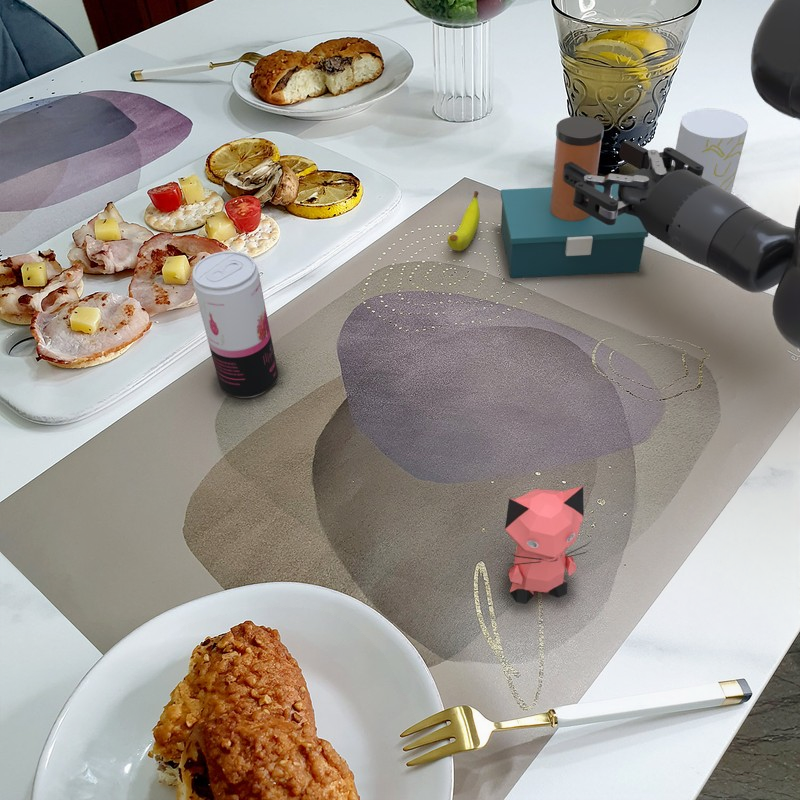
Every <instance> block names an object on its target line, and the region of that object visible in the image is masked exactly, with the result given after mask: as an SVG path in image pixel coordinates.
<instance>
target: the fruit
mask: <svg viewBox="0 0 800 800" xmlns="http://www.w3.org/2000/svg"><path fill="white" fill-rule="evenodd" d="M478 195H479V191H478V190H475V191H474V193H473V198H472V199H471V201H470V203H469V205H468V207H467V208H466V209H465V212H464V214H463V217H462V219H461V222H460V225H459V227H458V228H457V230H456V231H455V232H454V233H452V234H449V235H448V236H447V238H446V239H447V240H446V242H447V244H448V247H449V248H450V249H452V250H453V251H459V252H461V251H463V250H466V249H467V248H468V246H470V244H471V242H472V240H473V239H474V237H475V235H476V233H477V229H478V227H479V223H480V217H481V211H480V205H479V202H478Z"/></svg>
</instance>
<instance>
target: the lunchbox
mask: <svg viewBox="0 0 800 800" xmlns="http://www.w3.org/2000/svg"><path fill="white" fill-rule="evenodd" d="M618 187H619V184H613V186H612V193H611V195H613V196H614V198H618ZM595 189H597V190H598V191H600V192H604V187H603V186H600V185H596V188H595ZM551 193H552V186H549V187H548V186H547V187H545V186H544V187H529V188H527V187H526V188H511V189H510V188H509V189H501V190H500V198H501V220H500V232H501V237H502V242H503V248H504V252H505V257H506V262H507V263H506V264H507V268H508V273H509V277H510V279H523V278H524V279H525V278H544V277H545V278H546V277H561V276H585V275H601V274H621V273H638V272H640V268H641V264H642V263H641V262H642V256H643V251H644V245H645V240H646V238H648V236H649V233H648V232H647V231H646V230H645V228H644V226H643V225H642V223H641V221H640V219H639V218H638V217H636V216H633V215H629V214H626V213H623V214H621V215H619V216H617V217H616V223H615V224H614V225H607V224H605V223H603V222H601V221H600V220H598V219H596V218H594V217H593V216H591V215H590V216H589V217H588V218H586V219H584V220H580V221H566V220H561V219H559V218H557V217H555V216H554V215H553V214H552V213H551V211H550V204H551Z"/></svg>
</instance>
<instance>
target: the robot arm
mask: <svg viewBox="0 0 800 800" xmlns="http://www.w3.org/2000/svg"><path fill="white" fill-rule="evenodd" d="M761 19H762V20H761V21H760V23H759V26H757V30H756V33H755V35H754V39H753V43H752V46H751V52H750V53H751V54H750V73H751V77H752V82H753V86H754V88H755V90H756V92H757V94H758V96H759V97H760V98H761V99H762V100H763V102H765V103H766V104H767V105H769V106H770V107H771V108H772V109H774V110H775V111H776V112H778V113H780V114H782V115H784V116H787V117H790V118H793V119H795V120H797V121H800V0H773V1H772V3H771V4H770V6H769V7H768V9H767V11H766V12H765V13H764V15H763V17H762V18H761ZM675 149H676V148H673V147H664V148H663V150H662V151H661V152H659V151H658V150H657V149H647V148H645V147H643V146H641V145H640V144H638V143H635V142H632V141H631V140H629V139H626V140H624V141H622V142H620V146H619V154H618V157H619V158H620V160H622V161H624V162H625V163H627V164H630V165H631V166H632V167H634V168H636V169H637V170H636V171H634V172H633V173H628V174H619V173H618V174H617V173H608V174H607V175H606V176H602V175H597V176H596V175H591V173H589V172H588V171H586V170H584V169H583V168H581V167H579V166H578V165H576V164H575V163H573V162H568V163H565V164H564V170H563V181H564V182H565V183H567V184H568V185H570V186H572V187H573V188H575V194H574V200H573V205H574V206H575V207H577V208H579V209H581V210H582V211H584V212H586V213H588V214H589V215H591V216H593V217H594V218H596V219H598V220H600V221H601V222H603V223H605V224H607V225H614V224H615V223H616V217H617V216H619V215H621V214H623V213H626V214H629V215H633V216H636V217H638V218H639V219H640V221H641V223H642V225H643V226H644V228H645V230H646V231H647V232H648V235H651V236H652V237H653V238H656V239H657V240H658V241H660V242H662V243H664V244H665V245H666V246H668V247H670V248H671V249H673V250H675V251H677V252H678V253H679V254H680V255H683V256H684V257H686V258H688V260H690V261H693V262H695V263H696V264H698V265H701V266H703V267H705V268H708V269H710V270H712V271H713V272H715V273H716V274H717V275H719V276H721V277H723V278H724V279H726V280H727V281H729V282H731V283H732V284H734V285H735V286H736V287H739V288H740V289H742V290H744V291H746V292H749V293H754V294H758V293H763V292H766V291H768V290H770V289H772V288H774V287H776V286H777V287H776V290H775V292H774V295H773V299H772V309H771V310H772V316H773V317H772V318H773V321H774V325H775V327H776V329H777V330H778V332H779V334H780V335H781V337H782V338H783V339H784V340H785V341H786V342H787V343H788V344H789V345H791V346H793V347H794V348H796V349H798V350H800V204H799V205H798V208H797V211H796V215H795V222H794V227H790V226H787V225H784V224H782V223H781V222H778V221H777V220H775V219H773V218H771V217H769V216H768V215H765V214H764V213H763V212H760V211H759V210H757V209H755V208H753V207H751V206H750V205H749V204H747V203H746V202H744V201H743V200H742V199H740V198H739V197H738V196H736V195H735V194H733V193H732V192H731V193H729V192H727V191H725V190H723V189H722V188H720V187H718V186H716V185H714V184H712V183H711V182H709V181H707V180H705V179H703V178H702V175H703V170H704V167H703V166H702V165H700V164H699V163H697V162H695V161H693V160H692V159H690V158H688V157H687V156H685V155H683V154H682V153H680V152H678V151H676V150H675ZM673 161H675V167H674V166H673ZM613 184H619V187H618V198H614V196H613V195H611V193H612V186H613ZM594 185H600V186H603V187H604V192H600V191H598V190H597V189H595V188H594ZM586 200H588V201H586Z"/></svg>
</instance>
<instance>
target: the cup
mask: <svg viewBox="0 0 800 800" xmlns="http://www.w3.org/2000/svg"><path fill="white" fill-rule="evenodd" d="M748 129H749V123H748V121H747V120H746V119H745V118H744V117H743V116H742V115H739V114H738V113H735V112H734V111H730V110H726V109H721V108H709V107H708V108H698V109H694V110H691V111H687V112H686V113H685V114H684V115H683V116H682V117H681V119H680V124H679V130H678V135H677V139H676V145H675V148H674V149H675V150H676V151H678V152H680V153H682V154H683V155H685V156H687V157H688V158H690V159H692V160H693V161H695V162H697V163H699V164H700V165H702V166H703V167H704V170H703V175H702V178H703V179H705V180H707V181H709V182H711V183H712V184H714V185H716V186H718V187H720V188H722V189H723V190H725V191H727V192H729V193H731V194H732V193H733V187H734V184H735V180H736V176H737V172H738V168H739V165H740V161H741V157H742V153H743V149H744V144H745V141H746V136H747V132H748ZM672 165H673V166H674V167H675V161H672Z"/></svg>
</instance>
